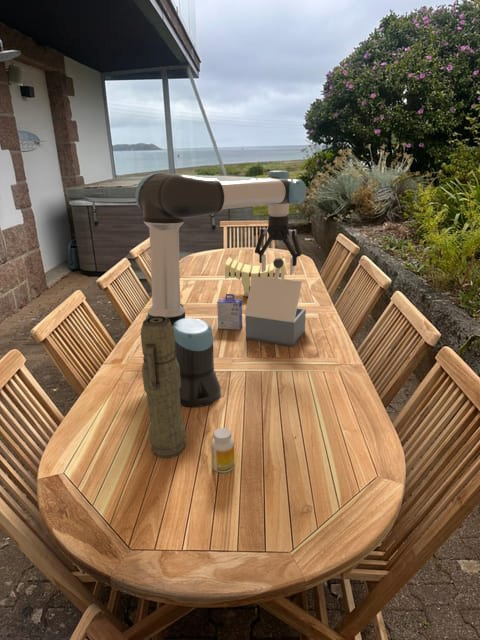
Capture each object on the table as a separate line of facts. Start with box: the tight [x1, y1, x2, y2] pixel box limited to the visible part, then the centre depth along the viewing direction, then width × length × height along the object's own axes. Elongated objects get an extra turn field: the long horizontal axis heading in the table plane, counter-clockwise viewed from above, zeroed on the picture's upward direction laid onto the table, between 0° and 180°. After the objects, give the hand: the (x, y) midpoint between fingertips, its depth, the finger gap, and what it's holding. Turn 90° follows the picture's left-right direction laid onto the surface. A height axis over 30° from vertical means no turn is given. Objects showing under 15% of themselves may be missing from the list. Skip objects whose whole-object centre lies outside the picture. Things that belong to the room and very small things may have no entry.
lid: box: [244, 257, 303, 323], centre depth 161 cm, size 24×20×4 cm
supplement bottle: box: [210, 427, 235, 474], centre depth 99 cm, size 5×5×10 cm
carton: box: [244, 307, 307, 348], centre depth 170 cm, size 16×20×10 cm
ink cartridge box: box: [216, 293, 243, 331], centre depth 178 cm, size 10×6×14 cm, turn 78°
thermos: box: [140, 316, 186, 459], centre depth 101 cm, size 9×12×35 cm
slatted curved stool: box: [224, 256, 286, 297], centre depth 220 cm, size 30×16×18 cm, turn 84°
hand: (277, 272), depth 163 cm, fingers open, 11 cm apart
